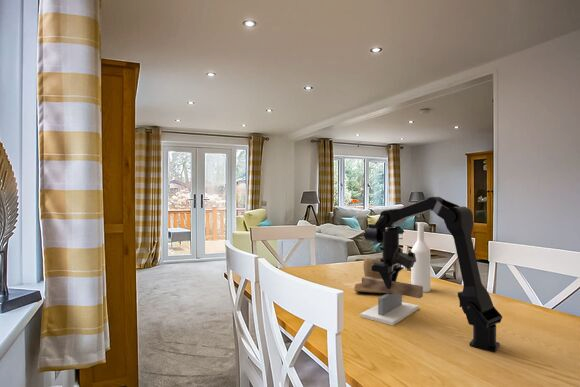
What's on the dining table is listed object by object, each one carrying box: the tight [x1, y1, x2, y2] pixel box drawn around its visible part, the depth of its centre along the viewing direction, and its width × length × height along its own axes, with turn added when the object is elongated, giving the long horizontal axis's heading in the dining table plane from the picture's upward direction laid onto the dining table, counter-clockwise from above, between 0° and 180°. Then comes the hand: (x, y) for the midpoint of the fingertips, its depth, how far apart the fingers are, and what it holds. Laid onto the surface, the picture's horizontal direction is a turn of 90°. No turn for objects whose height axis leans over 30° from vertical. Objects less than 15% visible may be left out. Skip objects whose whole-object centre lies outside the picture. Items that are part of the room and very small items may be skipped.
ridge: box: [359, 292, 419, 326], centre depth 126 cm, size 22×12×7 cm, turn 139°
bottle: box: [410, 221, 431, 293], centre depth 156 cm, size 8×8×30 cm
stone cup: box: [353, 257, 389, 294], centre depth 153 cm, size 15×12×15 cm
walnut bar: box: [361, 275, 424, 299], centre depth 126 cm, size 22×3×4 cm, turn 49°
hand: (390, 287), depth 126 cm, fingers closed on walnut bar, 3 cm apart
